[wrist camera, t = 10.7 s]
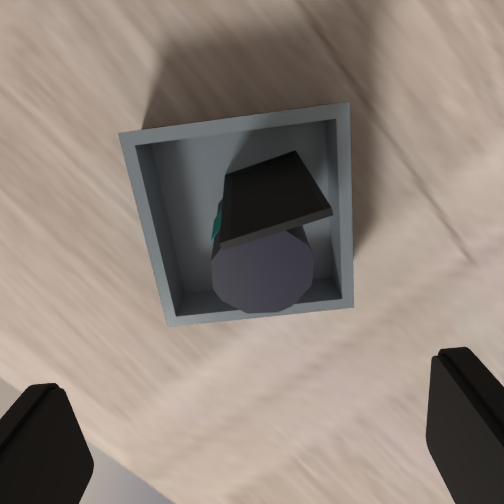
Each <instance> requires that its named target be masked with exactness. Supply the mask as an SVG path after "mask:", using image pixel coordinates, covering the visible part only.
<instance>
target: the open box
mask: <svg viewBox="0 0 504 504" xmlns="http://www.w3.org/2000/svg"><path fill="white" fill-rule="evenodd" d="M118 135H119V139H120V143H121V147H122V150H123V154H124V158H125V162H126V166H127V170H128V174H129V178H130V182H131V186H132V190H133V194H134V198H135V202H136V206H137V210H138V213H139V217H140V221H141V225H142V229H143V233H144V237H145V241H146V245H147V249H148V253H149V257H150V261H151V265H152V269H153V272H154V276H155V280H156V284H157V288H158V292H159V296H160V300H161V304H162V308H163V312H164V316H165V320H166V324H167V327H174V326H183V325H193V324H202V323H212V322H221V321H231V320H240V319H250V318H259V317H269V316H278V315H288V314H297V313H307V312H316V311H326V310H336V309H345V308H354V283H353V232H352V182H351V132H350V102H344V103H336V104H328V105H321V106H313V107H306V108H298V109H291V110H284V111H276V112H269V113H261V114H254V115H247V116H239V117H232V118H224V119H217V120H210V121H202V122H195V123H187V124H180V125H173V126H165V127H158V128H150V129H143V130H136V131H129V132H123V133H118ZM295 150H296V151H297V153H298V154H299V156H300V158H301V159H302V161H303V162H304V164H305V166H306V167H307V169H308V170H309V172H310V174H311V175H312V177H313V178H314V180H315V182H316V183H317V185H318V186H319V188H320V190H321V191H322V193H323V194H324V196H325V198H326V199H327V201H328V202H329V204H330V206H331V207H332V211H333V216H330V217H327V218H323V219H320V220H317V221H314V222H311V223H308V224H305V225H303V228H304V231H305V233H306V236H307V239H308V242H309V244H310V247H311V250H312V252H313V255H314V258H315V259H314V269H313V279H312V286H311V287H310V288H309V289H308V290H307V291H306V292H305V293H304V294H303V295H302V296H301V297H300V298H299V299H298V300H297V301H296V303H295V304H294V305H293V306H292V307H289V308H287V309H285V310H282V311H280V312H276V313H251V314H247V313H245V312H243V311H241V310H239V309H237V308H235V307H233V306H231V305H230V304H228V303H226V302H224V301H222V300H221V299H220V298H219V296H218V295H217V294H216V292H215V291H214V289H213V281H212V268H211V257H212V250H213V242H214V240H213V241H211V237H212V231H213V224H214V219H215V218H216V216H217V210H218V204H219V202H220V201H221V199H222V198H223V191H224V178H225V175H226V174H229V173H231V172H234V171H237V170H240V169H243V168H246V167H249V166H252V165H255V164H257V163H260V162H263V161H266V160H269V159H272V158H275V157H278V156H281V155H283V154H286V153H289V152H292V151H295Z"/></svg>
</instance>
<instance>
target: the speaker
mask: <svg viewBox="0 0 504 504" xmlns="http://www.w3.org/2000/svg"><path fill="white" fill-rule="evenodd" d="M330 216H333V211H332V207H331V206H330V204H329V202H328V201H327V199H326V198H325V196H324V194H323V193H322V191H321V190H320V188H319V186H318V185H317V183H316V182H315V180H314V178H313V177H312V175H311V174H310V172H309V170H308V169H307V167H306V166H305V164H304V162H303V161H302V159H301V158H300V156H299V154H298V153H297V151H296V150H295V151H292V152H289V153H286V154H283V155H281V156H278V157H275V158H272V159H269V160H266V161H263V162H260V163H257V164H255V165H252V166H249V167H246V168H243V169H240V170H237V171H234V172H231V173H229V174H226V175H225V178H224V191H223V198H222V199H221V201H220V202H219V204H218V210H217V216H216V218H215V219H214V224H213V231H212V237H211V241H213V240H214V242H213V250H212V257H211V268H212V281H213V289H214V291H215V292H216V294H217V295H218V296H219V298H220V299H221V300H222V301H224V302H226V303H228V304H230V305H231V306H233V307H235V308H237V309H239V310H241V311H243V312H245V313H247V314H251V313H276V312H280V311H282V310H285V309H287V308H289V307H292V306H293V305H294V304H295V303H296V301H297V300H298V299H299V298H300V297H301V296H302V295H303V294H304V293H305V292H306V291H307V290H308V289H309V288H310V287H311V286H312V279H313V269H314V259H315V258H314V255H313V252H312V250H311V247H310V244H309V242H308V239H307V236H306V233H305V231H304V228H303V225H305V224H308V223H311V222H314V221H317V220H320V219H323V218H327V217H330Z"/></svg>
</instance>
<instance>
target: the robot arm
mask: <svg viewBox="0 0 504 504" xmlns="http://www.w3.org/2000/svg"><path fill="white" fill-rule="evenodd" d="M426 442H427V446H428V449H429V452H430V454H431V456H432V458H433V460H434V462H435V464H436V466H437V468H438V470H439V472H440V474H441V476H442V478H443V480H444V482H445V484H446V486H447V488H448V490H449V492H450V494H451V496H452V498H453V500H454V502H455V504H504V387H503V386H502V384H501V383H500V382H499V381H498V380H497V379H496V378H495V377H494V376H493V374H492V373H491V372H490V371H489V370H488V369H487V368H486V367H485V366H484V364H483V363H482V362H481V361H480V360H479V359H478V358H477V357H476V355H475V354H474V353H473V352H472V351H471V350H470V349H469V348H467V347H458V348H446V349H440V351H439V353H438V356H433V357H432V361H431V374H430V387H429V400H428V414H427V427H426ZM93 469H94V461H93V458H92V456H91V453H90V451H89V448H88V446H87V444H86V441H85V439H84V436H83V434H82V431H81V429H80V426H79V424H78V421H77V419H76V417H75V414H74V412H73V409H72V407H71V404H70V402H69V399H68V397H67V395H66V392H65V391H64V389H62V388H60V387H59V386H58V385H57V384H56V383H47V384H36V385H31V386H29V387H28V388H27V389H26V390H25V391H24V392H23V393H22V394H21V396H20V397H19V398H18V399H17V400H16V401H15V403H14V404H13V405H12V406H11V407H10V409H9V410H8V411H7V412H6V413H5V415H3V417H2V418H1V419H0V504H79V502H80V500H81V498H82V496H83V494H84V491H85V489H86V487H87V485H88V483H89V481H90V479H91V476H92V474H93Z"/></svg>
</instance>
